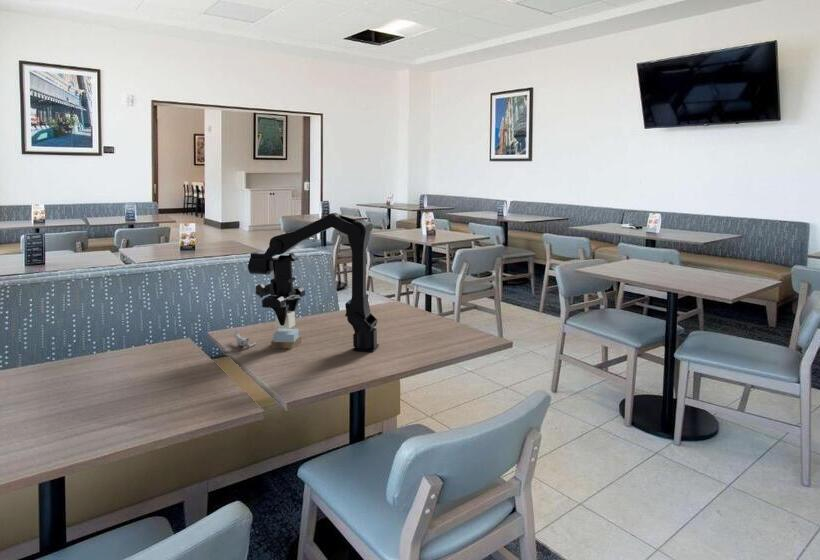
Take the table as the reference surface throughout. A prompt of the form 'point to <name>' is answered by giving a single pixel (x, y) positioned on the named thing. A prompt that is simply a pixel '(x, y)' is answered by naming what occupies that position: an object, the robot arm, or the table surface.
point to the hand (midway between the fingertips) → (285, 323)
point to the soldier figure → (242, 340)
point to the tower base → (286, 344)
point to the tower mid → (286, 335)
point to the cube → (287, 320)
